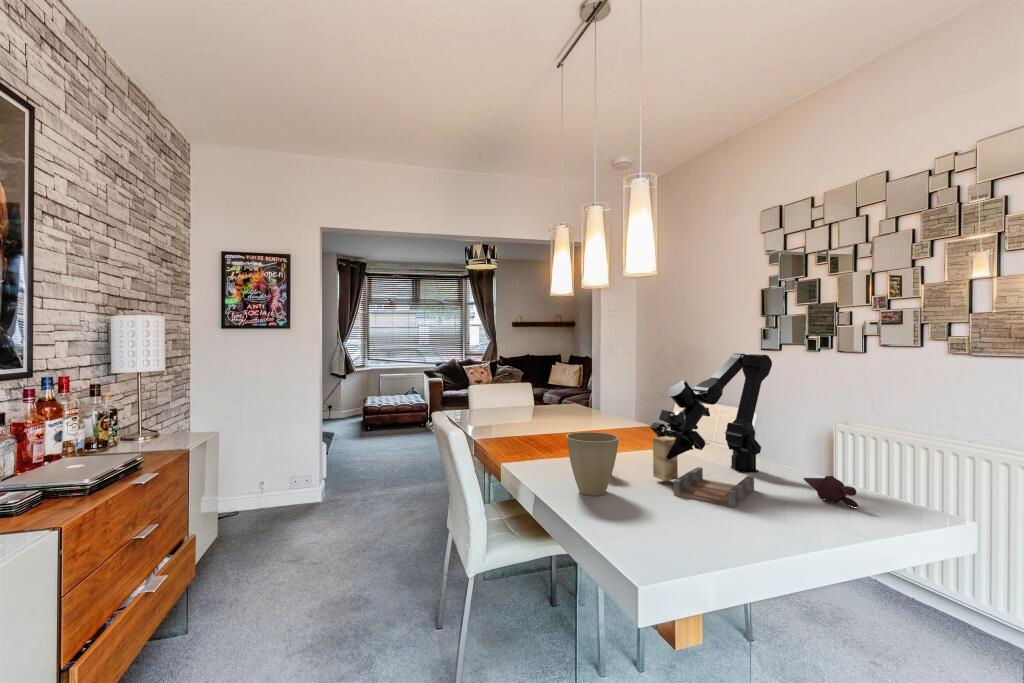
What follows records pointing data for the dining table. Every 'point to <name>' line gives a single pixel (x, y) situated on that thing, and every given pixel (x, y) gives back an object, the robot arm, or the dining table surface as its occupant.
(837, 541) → the dining table surface
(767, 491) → the dining table surface
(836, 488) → the icecream
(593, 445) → the plant pot
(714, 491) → the bay
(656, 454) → the oak block
